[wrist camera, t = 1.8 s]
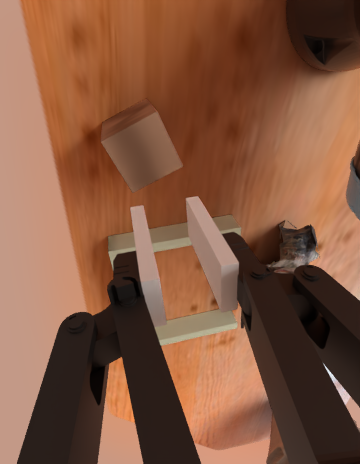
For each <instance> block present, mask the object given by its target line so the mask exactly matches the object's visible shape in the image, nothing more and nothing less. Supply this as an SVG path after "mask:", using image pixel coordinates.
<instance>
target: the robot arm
mask: <svg viewBox="0 0 360 464" xmlns="http://www.w3.org/2000/svg"><path fill="white" fill-rule="evenodd" d="M286 14H287V25H288V30H289V34H290V38H291V41H292V43H293V45H294V47H295V49H296V51H297V52H298V54H299V55H300V56H301V58H302V59H303V60H304V61H305V62H307V63H308V64H309V65H311V66H313V67H315V68H317V69H320V70H326V71H337V72H342V71H350V70H354V69H358V68H360V0H287V6H286ZM350 169H351V172H350V177H349V181H348V185H347V189H346V199H347V203H348V206H349V207H350V209H351V210H352V212H354V213H355V215H356V217H357V218H358V219H359V220H360V141H359V144H358V147H357V151H356V154H355V156H354V157H353V158H352V160H351V163H350ZM186 209H187V222H188V234H189V238H190V241H191V243H192V245H193V248H194V250H195V252H196V255H197V257H198V259H199V261H200V264H201V266H202V268H203V271H204V273H205V275H206V278H207V280H208V282H209V285H210V287H211V289H212V292H213V294H214V296H215V299H216V301H217V303H218V306H219V308H220V310H221V313H222V312H227V311H231V310H236V309H237V305H238V302H239V304H240V306H241V308H242V310H241V328H244V326H245V329H246V332H247V335H248V338H249V341H250V344H251V347H252V350H253V353H254V357H255V360H256V363H257V366H258V369H259V372H260V375H261V378H262V381H263V384H264V387H265V390H266V394H267V397H268V400H269V403H270V406H271V409H272V412H273V415H274V418H275V421H276V424H277V427H278V431H279V434H280V437H281V440H282V443H283V446H284V449H285V452H286V455H287V458H288V461H289V464H360V432H359V430H358V428H357V426H356V424H355V423H354V421H353V419H352V417H351V415H350V413H349V411H348V410H347V408H346V406H345V404H344V402H343V400H342V398H341V396H340V394H339V393H338V391H337V389H336V387H335V385H334V383H333V381H332V379H331V378H330V376H329V374H328V372H327V370H326V368H325V366H326V367H327V368H328V369H329V371H330V372H331V373H332V374H333V375H334V377H335V378H336V379H337V380H338V382H339V383H340V384H341V385H342V386H343V388H344V389H345V390H346V391H347V392H348V394H349V395H350V396H351V397H352V399H353V400H354V401H355V402H356V403H357V404H358V406H359V407H360V301H359V300H358V299H357V298H356V297H355V296H353V295H352V294H351V293H350V292H349V291H347V290H346V289H345V288H344V287H343V286H342V285H340V284H339V283H338V282H337V281H336V280H335V279H333V278H332V277H331V276H330V275H329V274H327V273H326V272H325V271H324V270H322V269H321V268H319V267H316V266H313V265H300V266H298V267H296V269H295V270H294V274H285V273H275V272H274V271H273V270H272V269H271V268H270V267H268V266H267V265H263V264H261V263H260V262H259V260H258V259H257V258H256V256H255V255H254V253H253V252H252V251H251V249H250V248H249V246H248V245H247V244H246V243H245V241H244V239H243V238H242V237H241V236H240V235H238V234H237V233H235V232H229V233H224V234H221V233H220V231H219V229H218V228H217V226H216V224H215V223H214V221H213V220H212V218H211V216H210V215H209V213H208V211H207V210H206V208H205V206H204V205H203V203H202V202H201V200H200V198H199V197H198V196H195V197H189V198H186ZM130 210H131V217H132V224H133V231H134V239H135V246H136V251H131V252H125V253H120V254H117V255H116V257H115V259H114V260H113V274H114V275H113V277H114V279H113V280H112V281H111V282H110V283H109V285H108V288H107V291H108V295H109V298H110V302H111V304H110V305H109V307H107V308H106V309H105V310H103V311H102V312H100V313H98V314H95V315H93V316H92V315H91V314H89V313H87V312H78V313H75V314H72V315H70V316H69V317H67V318H66V319H65V320H64V321H63V322H62V323H61V325H60V327H59V330H58V333H57V336H56V339H55V343H54V346H53V349H52V352H51V355H50V359H49V362H48V365H47V368H46V372H45V375H44V378H43V381H42V384H41V387H40V391H39V394H38V397H37V400H36V403H35V407H34V410H33V413H32V416H31V420H30V423H29V426H28V429H27V432H26V435H25V439H24V442H23V445H22V448H21V452H20V455H19V458H18V461H17V464H97V463H98V455H99V446H100V437H101V429H102V420H103V412H104V403H105V396H106V387H107V379H108V370H109V363H111V362H113V361H115V360H117V359H118V358H120V357H122V359H123V364H124V369H125V374H126V379H127V384H128V389H129V394H130V399H131V404H132V409H133V414H134V419H135V424H136V429H137V434H138V438H139V444H140V449H141V454H142V458H143V464H201V462H200V459H199V456H198V453H197V450H196V447H195V444H194V441H193V438H192V435H191V433H190V430H189V427H188V424H187V421H186V418H185V415H184V412H183V409H182V406H181V403H180V400H179V398H178V395H177V392H176V389H175V386H174V383H173V380H172V377H171V374H170V371H169V368H168V365H167V362H166V360H165V357H164V354H163V351H162V348H161V345H160V342H159V339H158V336H157V333H156V330H155V327H159V326H164V325H167V322H166V315H165V309H164V303H163V296H162V290H161V284H160V278H159V273H158V269H157V264H156V260H155V256H154V251H153V247H152V242H151V238H150V233H149V229H148V224H147V220H146V216H145V211H144V207H143V205H141V206H135V207H130ZM322 362H323V363H324V364H323V363H322ZM324 365H325V366H324Z"/></svg>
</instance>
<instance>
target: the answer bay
mask: <svg viewBox="0 0 360 464" xmlns="http://www.w3.org/2000/svg"><path fill="white" fill-rule="evenodd" d="M212 220H213V221H214V223H215V224H216V226H217V228H218V229H219V231H220V233H221V234H224V233H229V232H235V233H237V234H238V235H240V236H241V227H240V225H239V224H238V223H237V221H236V220H235V219H234V217H233V216H232V215H225V216H219V217H214V218H212ZM149 233H150V238H151V242H152V247H153V251H154V252H158V251H164V250H169V249H174V248H180V247H185V246H190V245H192V243H191V241H190V238H189V234H188V222H186V223H180V224H174V225H169V226H163V227H157V228H152V229H149ZM131 251H136V246H135V239H134V232H129V233H124V234H118V235H113V236H108V253H109V257H110V261H111V264H112V268H113V260H114V259H115V257H116V255H117V254H120V253H125V252H131ZM166 322H167V325H164V326H159V327H155V330H156V333H157V336H158V339H159V342H160V345H161V346H162V345H166V344H171V343H175V342H179V341H184V340H188V339H192V338H197V337H201V336H205V335H210V334H214V333H218V332H223V331H227V330H231V329H236V328H237V321H236V319H235V317H234V314H233V312H232V310H231V311H227V312H222V313H221V310H220V309H217V310H212V311H208V312H203V313H199V314H194V315H190V316H185V317H181V318H176V319H172V320H167V321H166Z"/></svg>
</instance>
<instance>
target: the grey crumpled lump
mask: <svg viewBox="0 0 360 464" xmlns="http://www.w3.org/2000/svg"><path fill="white" fill-rule="evenodd" d="M284 222H285V221H284ZM284 222H283V223H281V224H279V228H280V237H281V231H282V237H283V243H281V244H280V261H277V262H276V263H274V262H275V261H274V262H272V264H269V265H267V266H268V267H270V268H271V269H272V270H273V271H274V272H275V273H285V274H294V270H295V269H296V267H298V266H300V265H308V264H309V262H310V261H313V260H315V259H317V258H318V256H319V254H318V253H317V252H316V251H315V249H316V244H317V239H316V235H315V230H314V228H313V227H312V226H311V224H310V226H309V225H307V226H305V227H304V228H301V229H299V230H296V229H286V228H283V226H284ZM289 223H290V222H289ZM290 224H291V223H290ZM294 227H295V226H294ZM295 228H296V227H295ZM317 247H318V244H317ZM318 251H319V250H318ZM319 258H320V256H319Z"/></svg>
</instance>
